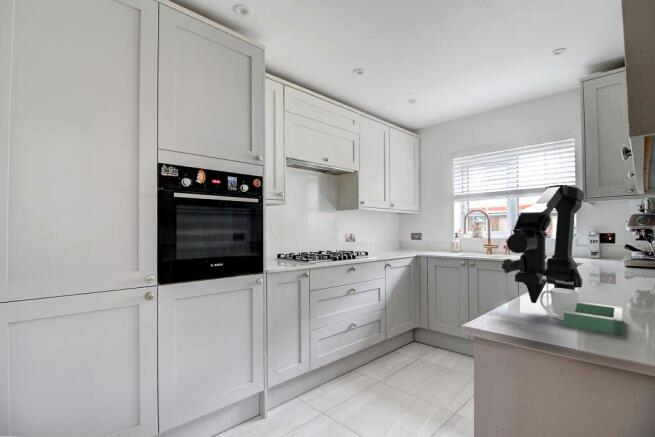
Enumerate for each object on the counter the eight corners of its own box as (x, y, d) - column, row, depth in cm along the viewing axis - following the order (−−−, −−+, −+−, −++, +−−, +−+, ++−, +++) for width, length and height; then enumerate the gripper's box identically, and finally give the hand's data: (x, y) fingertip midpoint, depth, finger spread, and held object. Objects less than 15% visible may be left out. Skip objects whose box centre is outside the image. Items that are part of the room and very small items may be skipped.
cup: (570, 323, 87) (570, 294, 87) (533, 313, 96) (533, 286, 96) (584, 320, 90) (585, 292, 90) (547, 311, 99) (547, 285, 99)
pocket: (571, 312, 98) (570, 300, 98) (622, 320, 90) (622, 307, 90) (563, 325, 86) (563, 311, 86) (622, 335, 78) (621, 320, 78)
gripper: (512, 248, 110) (512, 293, 110) (495, 251, 96) (495, 303, 96) (551, 250, 102) (551, 299, 102) (539, 254, 89) (539, 311, 89)
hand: (533, 302), depth 97 cm, fingers closed
